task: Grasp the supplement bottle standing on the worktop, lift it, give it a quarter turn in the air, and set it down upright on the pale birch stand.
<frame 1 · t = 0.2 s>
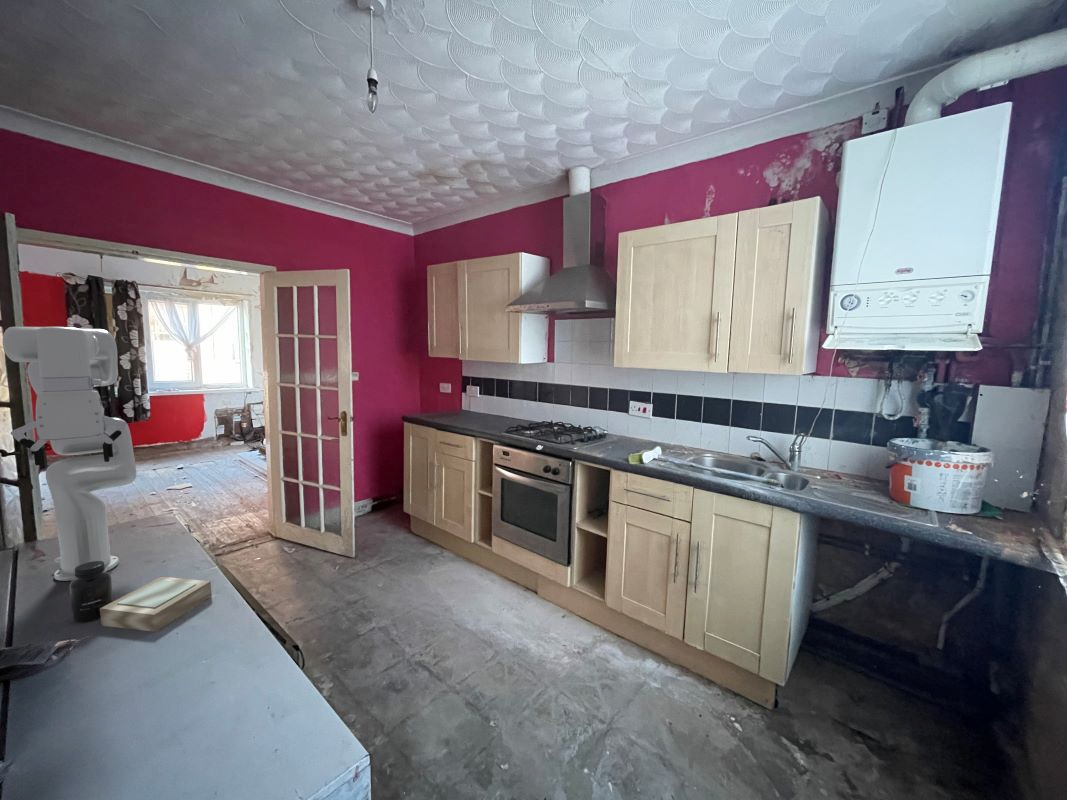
hand: (76, 464, 96), 36 cm above the counter, tool pointing down, fingers open, 9 cm apart
supplement bottle: (94, 615, 102), on the counter
birch stand: (159, 610, 104), on the counter
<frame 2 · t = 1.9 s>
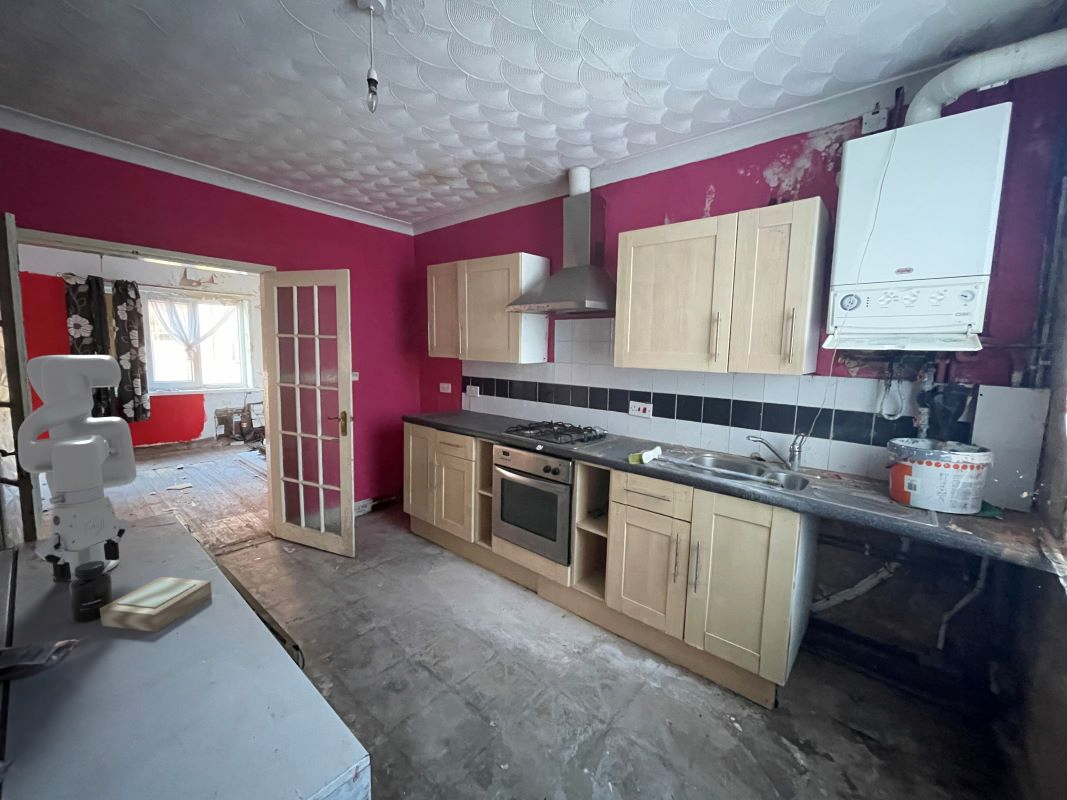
hand: (89, 569, 100), 11 cm above the counter, tool pointing down, fingers open, 9 cm apart
nothing on the counter moved.
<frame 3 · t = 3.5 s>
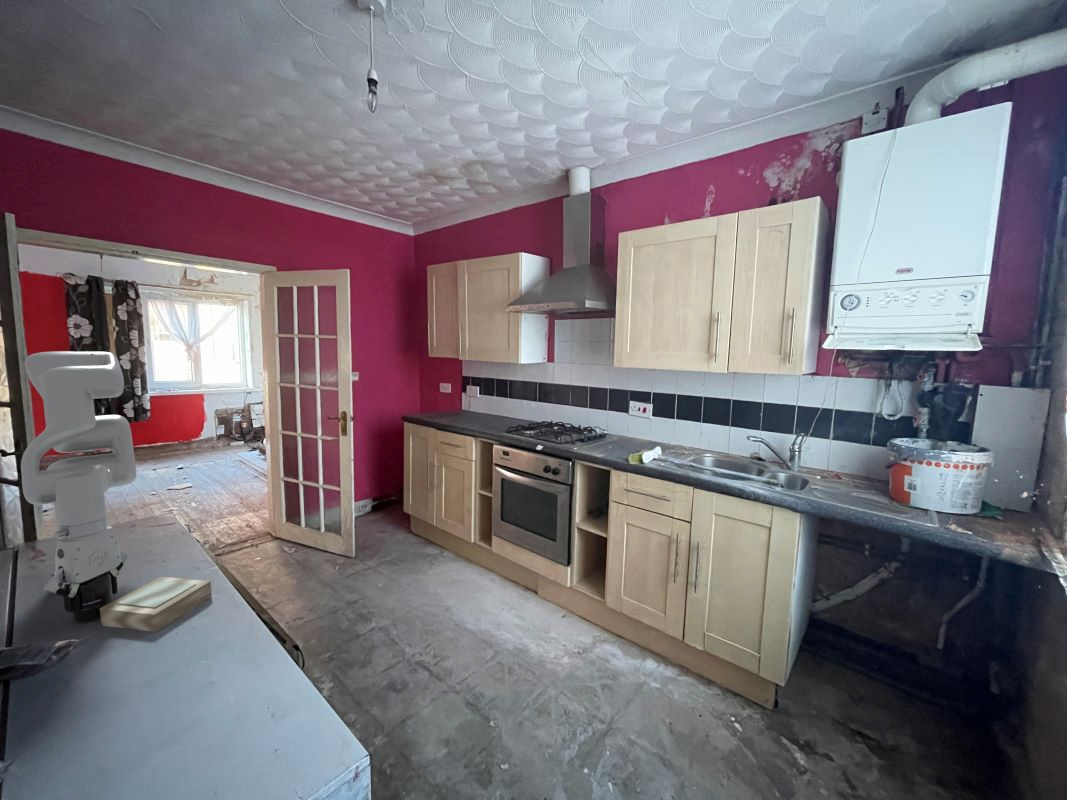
hand: (92, 601, 102), 3 cm above the counter, tool pointing down, fingers closed on supplement bottle, 6 cm apart
supplement bottle: (94, 615, 102), on the counter, touching gripper
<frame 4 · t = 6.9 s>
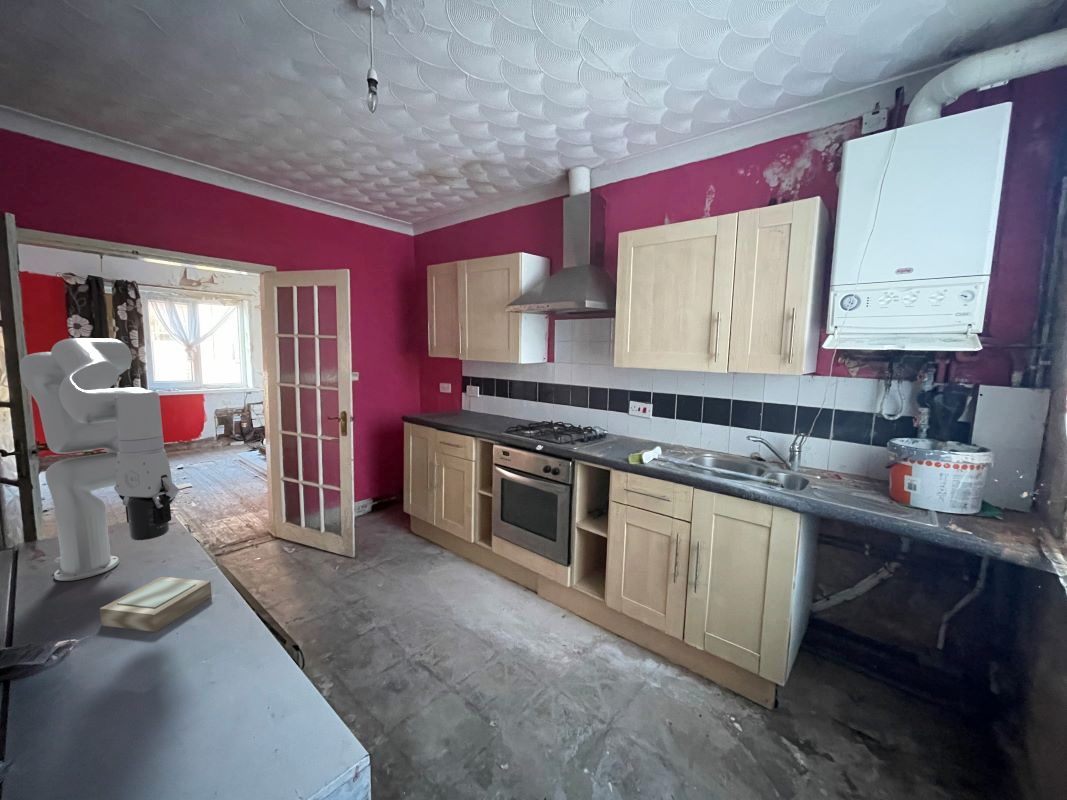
hand: (149, 521, 102), 22 cm above the counter, tool pointing down, fingers closed on supplement bottle, 6 cm apart
supplement bottle: (150, 535, 102), point 18 cm above the counter, touching gripper
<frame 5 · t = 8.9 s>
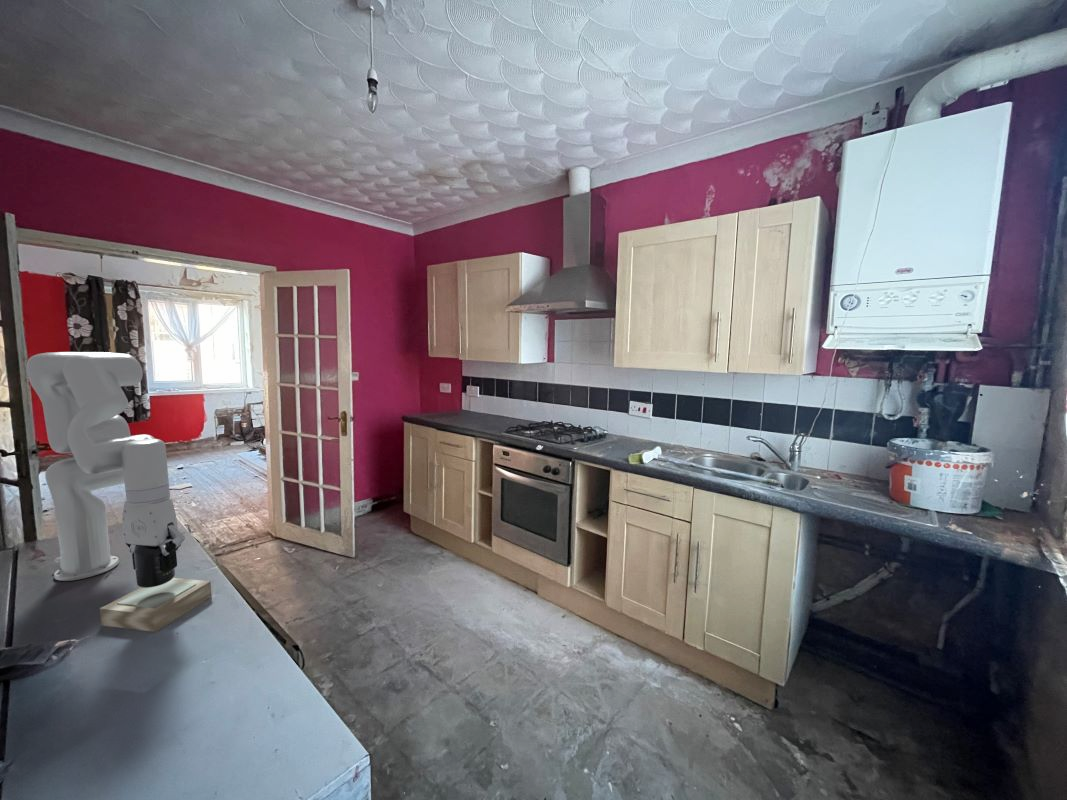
hand: (155, 567, 103), 11 cm above the counter, tool pointing down, fingers closed on supplement bottle, 6 cm apart
supplement bottle: (156, 581, 103), point 7 cm above the counter, touching gripper
when the fingers open (9 cm above the counter, at t = 10.3 s): supplement bottle stays where it is, resting on birch stand.
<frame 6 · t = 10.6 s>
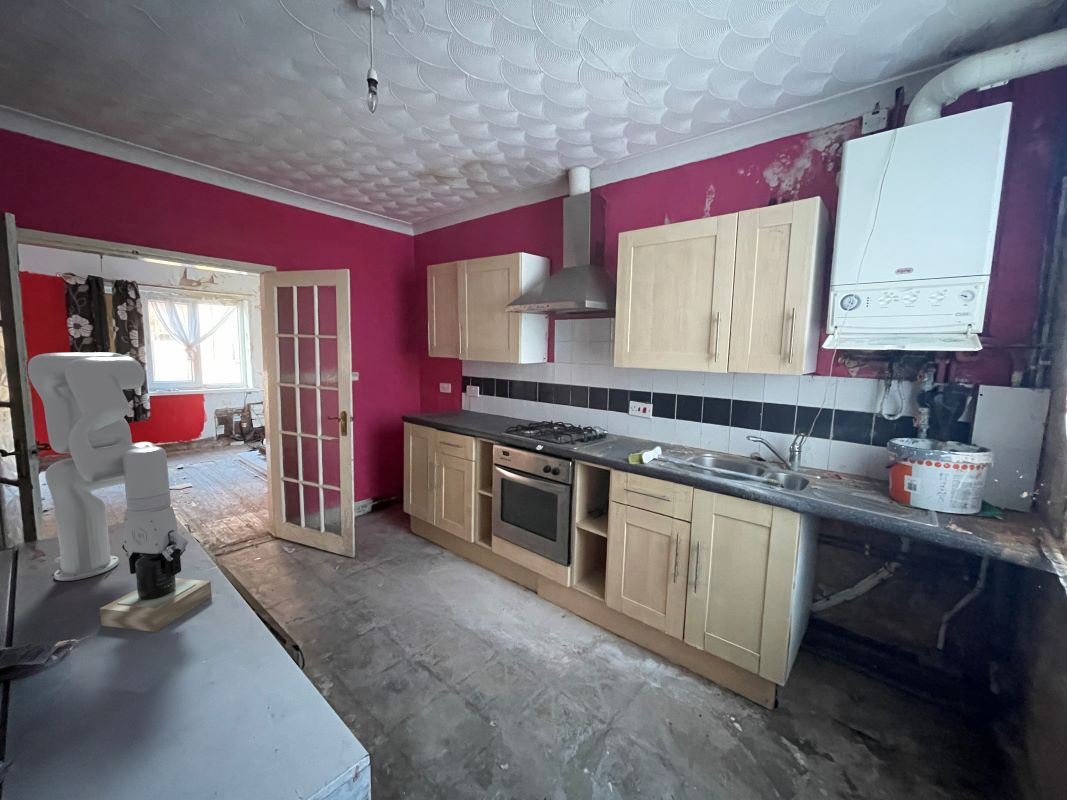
hand: (156, 572, 103), 9 cm above the counter, tool pointing down, fingers open, 9 cm apart
supplement bottle: (157, 593, 104), point 4 cm above the counter, touching birch stand
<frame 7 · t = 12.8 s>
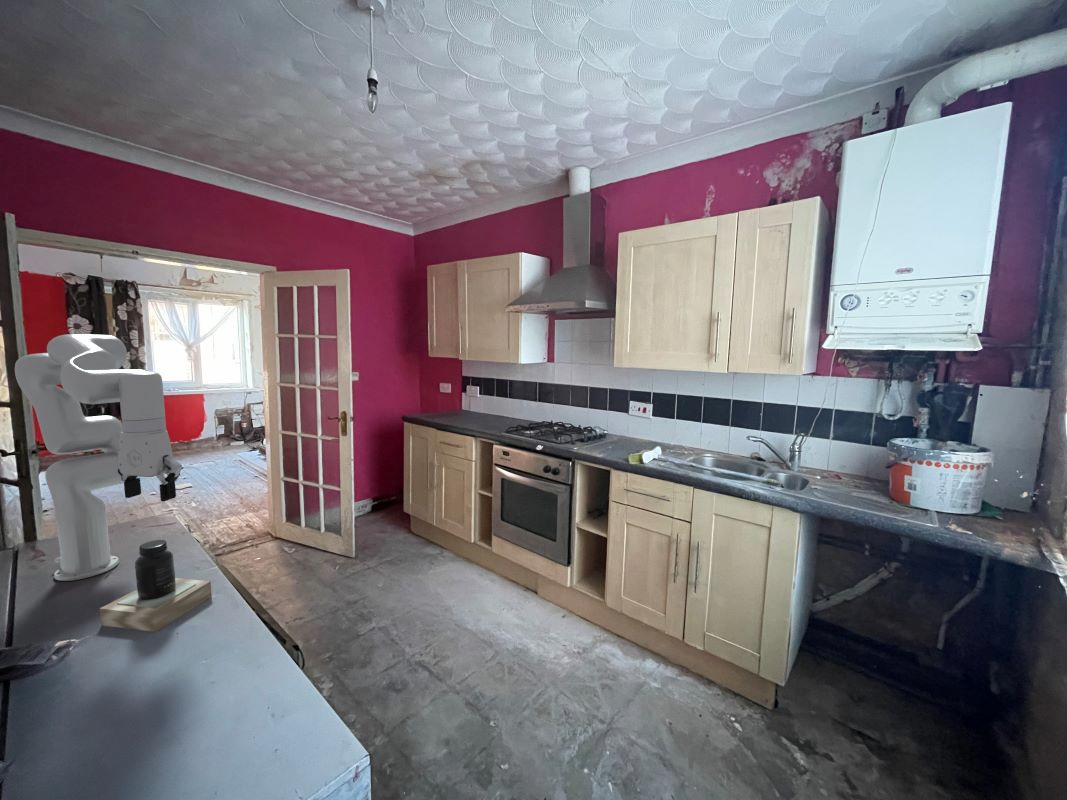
hand: (150, 497, 104), 26 cm above the counter, tool pointing down, fingers open, 9 cm apart
nothing on the counter moved.
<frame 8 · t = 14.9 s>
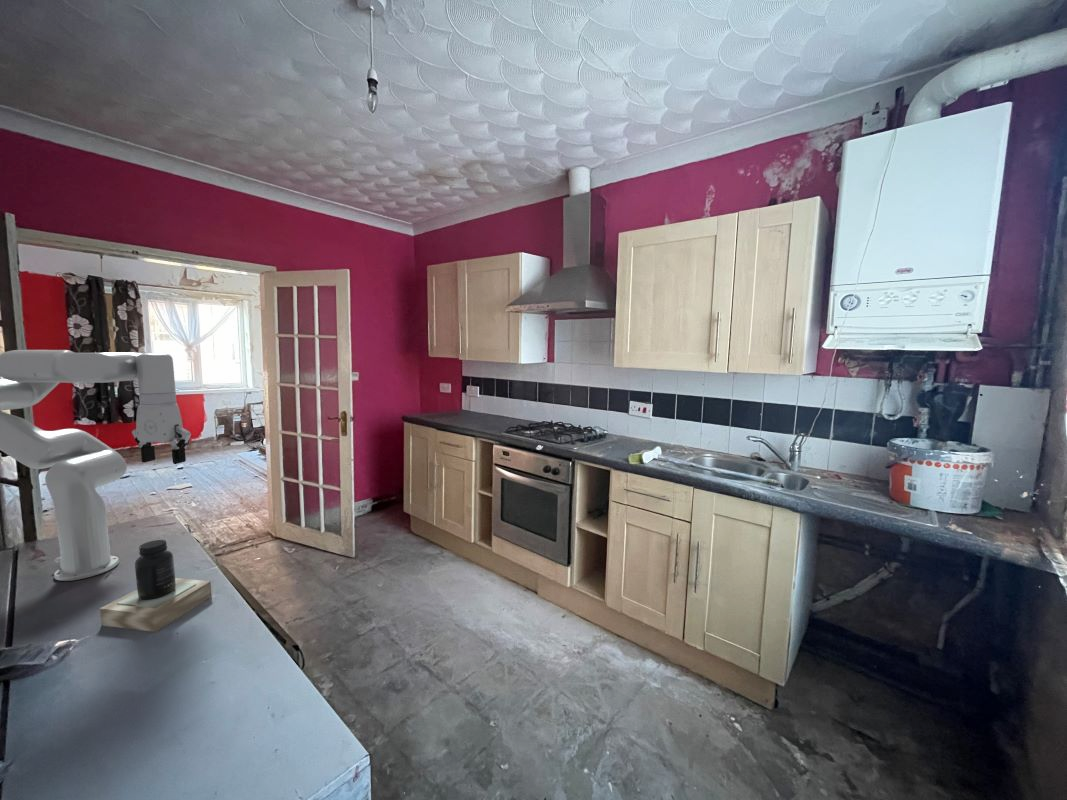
hand: (164, 462, 121), 30 cm above the counter, tool pointing down, fingers open, 9 cm apart
nothing on the counter moved.
at the end: supplement bottle inside the target area on the birch stand (0.2 cm from its centre), point 4.1 cm above the birch stand's base; supplement bottle tilted 0°; the gripper is holding nothing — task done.
